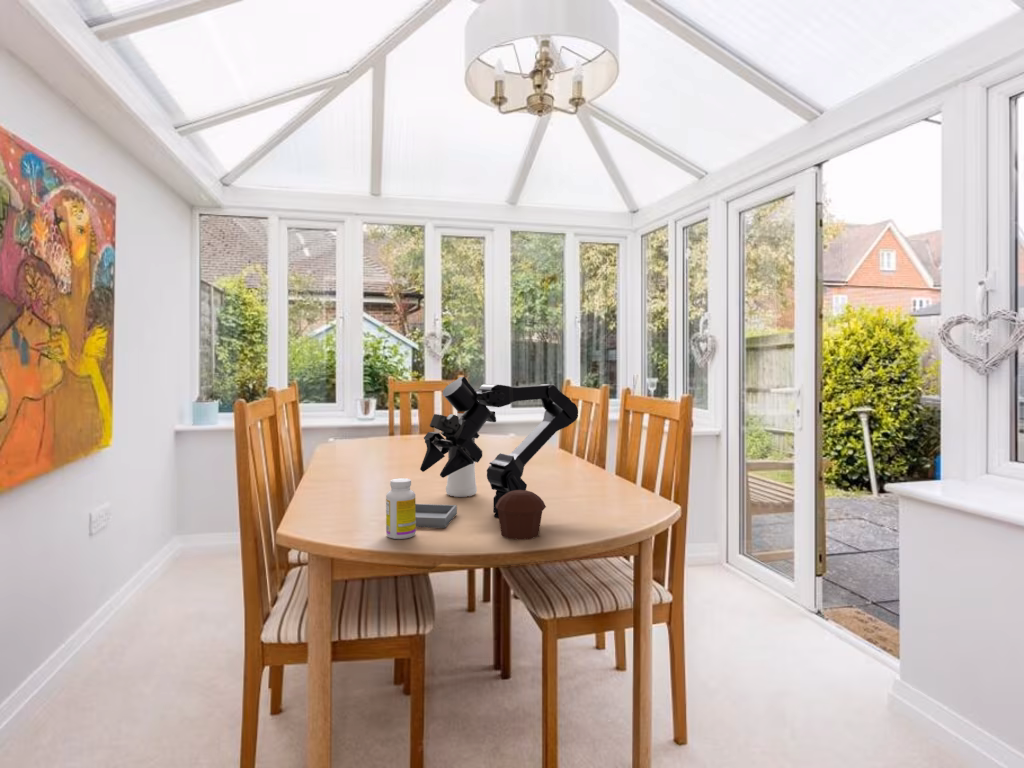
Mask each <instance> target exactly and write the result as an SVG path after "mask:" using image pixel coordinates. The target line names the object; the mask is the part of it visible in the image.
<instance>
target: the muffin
mask: <svg viewBox="0 0 1024 768" xmlns="http://www.w3.org/2000/svg"><path fill="white" fill-rule="evenodd" d="M495 506H496V508H497V510H498V515H499V517H498V520H499V521H498V522H499V527H500V536H501V535H502V537H504V538H506V539H508V540H516V541H517V540H518V541H525V540H532V539H535V538H537V537H539V535H540V529H541V521H542V515H543V511H544V510H545V509H546V508H547V506H546V504H545V502H544V500H543V499H542V498H541V497H540V496H539V495H538V494H536V493H535V492H533V491H530V490H527V489H526V490H514V491H510V492H508V493H506V494H505V495H503V496H502V497H501V498H500V499H499V500H498V502H497V504H496V505H495Z"/></svg>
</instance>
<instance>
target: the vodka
mask: <svg viewBox="0 0 1024 768" xmlns="http://www.w3.org/2000/svg"><path fill="white" fill-rule="evenodd" d="M456 412H457V414H456V416H458V417H459V418H460V417H461V416H462V415H463V413H464V412H465V411H457V410H456ZM472 440H473V441H474V442H475V443H476V438H473V439H472ZM447 455H448V456H447V460H449V459H450V457H451V455H452V449H450V450H449V451H448V453H447ZM475 466H476V462H474V463H473V464H470V465H468V466H465V467H463V468H461V469H459V470H457V471H455V472H453V473H451V474H450V475H448V476H447V480H446V487H445V493H446V495H447V496H449V495H450V496H449V497H452V496H454V497H453V498H468V497H467V496H469V497H473V496H474V495H476V494H477V491H478V487H477V482H476V467H475ZM472 495H473V496H472Z"/></svg>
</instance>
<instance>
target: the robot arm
mask: <svg viewBox="0 0 1024 768" xmlns="http://www.w3.org/2000/svg"><path fill="white" fill-rule="evenodd" d="M442 396H443V397H444V398H445V399H446V400H447V401H448V403H449V404H451V406H452V407H453V408H454V409H455V410H456V412H457V411H465V412H464V413H463V415H462V416H461V417H460V418H459V417H458V416H457V414H451V413H450V414H449V415H447V416H446V415H443V414H438V413H434V414H433V415H432V418H431V421H430V424H429V427H430V428H434V429H437V430H438V431H441V433H440V432H436V431H428V432H427V433H426V434H425V435H424V436H423V440H424V443H425V445H426V451H425V454H424V456H423V460H422V463H421V465H420V468H419V470H420V471H421V472H422V473H424V472H425V471H427V470H428V469H430V468H431V467H433V466H434V465H435V464H437V463H438V462H439V461H441V460H443V458H445V457H446V455H445V454H448V451H449V450H450V449H452V455H451V457H450V459H449V460H448V459H447V460H448V461H447V462H446V464H445V465H444V467H443V468H442V470H441V472H440V473H439V476H440V477H441V478H443V479H444V478H446V477H448V475H450V474H451V473H453V472H455V471H457V470H459V469H461V468H463V467H465V466H468V465H470V464H473V463H474V462H475V463H479V462H480V460H481V459H482V458H483V450H482V449H481V448H480V447H479V446H478V445H477V443H476V441H475V442H474V441H473V440H472V439H473V438H475V440H476V439H478V438H479V437H480V434H479V431H480V430H481V429H482V428H483V426H484V425H485V424H486V422H490V423H497V417H496V411H495V410H493V411H492V410H490V409H489V407H491V408H492V407H493V408H502V407H505V406H509V405H511V404H512V403H516V402H521V401H522V402H523V401H531V400H532V401H533V400H540V401H541V405H542V407H543V408H544V410H545V411H544V414H543V419H542V421H541V422H540V423H539V424H538V425H536V426H535V428H534V429H533V430H531V432H530V433H529V434H528V435H527V436H526V437H525V438H524V440H522V441H521V442H520V443H519V444H518V446H517V447H516V448H514V449H513V451H511V452H510V453H509V454H507V453H506V454H505V453H499V454H497V455H496V457H495V458H494V460H492V461H490V462H489V464H490V465H488V467H487V469H486V478H487V481H488V483H489V484H490V487H491V490H494V491H495V495H494V497H493V500H492V501H493V503H492V504H493V506H492V507H493V514H494V515H493V516H495V518H499V515H498V510H497V508H496V506H495V505H496V504H497V502H498V500H499V499H500V498H501V497H502V496H503V495H505V494H506V493H508V492H510V491H514V490H527V486H528V484H527V483H526V482H525V480H523V479H522V477H523V474H524V469H525V467H526V465H527V464H528V463H529V461H531V459H532V458H533V457H534V456H535V455H536V454H537V453H538V452H539V451H540V450H541V449H542V448H543V447H544V446H545V444H546V443H547V442H549V440H550V439H551V438H552V437H553V436H555V434H556V433H557V432H558V431H561V430H563V429H565V428H567V427H569V426H570V425H572V424H573V423H575V422H576V421H577V419H578V418H579V409H578V406H577V404H576V403H575V402H573V401H572V400H571V399H570V398H569V397H568V396H567V395H565V393H563V392H561V391H560V390H559V388H558V387H557V386H556V385H554V384H549V383H548V384H547V383H541V384H535V385H534V384H533V385H518V386H510V385H504V384H493V383H484V384H481V385H480V387H479V388H477V389H474V388H473V386H472V385H471V384H470V382H469V381H468V380H467V378H466V377H465V376H459V377H458V378H457V379H455V380H454V381H452V382H451V383H449V384H448V385H446V386H445V388H444V389H443V390H442Z"/></svg>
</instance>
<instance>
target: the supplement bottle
mask: <svg viewBox="0 0 1024 768" xmlns="http://www.w3.org/2000/svg"><path fill="white" fill-rule="evenodd" d="M389 485H390V488H391V489H390V490H389V491H388V492H387V493H386V495H385V508H386V509H385V513H386V514H385V516H386V517H385V520H386V521H385V522H386V523H385V525H386V526H385V527H386V528H385V529H386V530H385V531H386V537H388V538H389V539H394V540H405V539H406V540H407V539H409V538H412V537H414V536H415V535H416V532H417V530H416V529H417V527H416V506H415V504H416V493H415V491H413V490H412V489H411V486H412V479H410V478H407V477H406V478H403V477H402V478H401V477H400V478H393V479H390V483H389Z"/></svg>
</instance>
